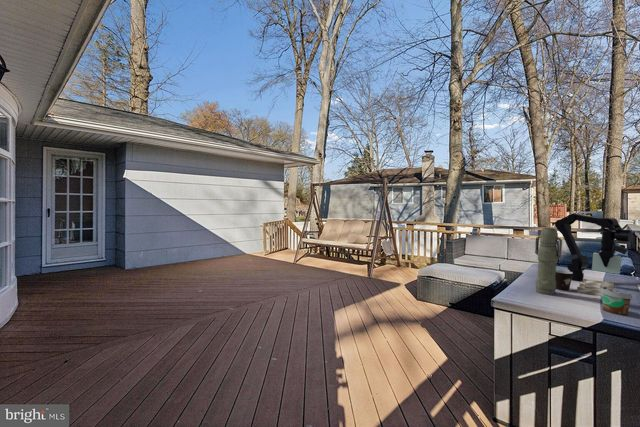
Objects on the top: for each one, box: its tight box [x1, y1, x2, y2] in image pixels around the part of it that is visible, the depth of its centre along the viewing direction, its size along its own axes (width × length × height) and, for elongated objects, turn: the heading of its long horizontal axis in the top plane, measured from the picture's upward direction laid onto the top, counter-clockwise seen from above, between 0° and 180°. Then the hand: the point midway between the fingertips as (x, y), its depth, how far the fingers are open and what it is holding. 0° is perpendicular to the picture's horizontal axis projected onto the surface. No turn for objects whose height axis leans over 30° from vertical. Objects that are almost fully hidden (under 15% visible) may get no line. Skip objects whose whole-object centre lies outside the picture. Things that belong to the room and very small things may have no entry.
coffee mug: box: [555, 269, 573, 292], centre depth 181 cm, size 12×9×10 cm
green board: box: [591, 252, 622, 275], centre depth 186 cm, size 12×4×10 cm, turn 45°
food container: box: [600, 286, 633, 316], centre depth 147 cm, size 12×6×10 cm, turn 5°
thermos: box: [534, 227, 563, 296], centre depth 173 cm, size 9×12×35 cm
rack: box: [576, 278, 615, 297], centre depth 181 cm, size 14×26×2 cm, turn 135°
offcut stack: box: [584, 281, 603, 291], centre depth 176 cm, size 8×6×5 cm
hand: (606, 266), depth 186 cm, fingers closed on green board, 4 cm apart
